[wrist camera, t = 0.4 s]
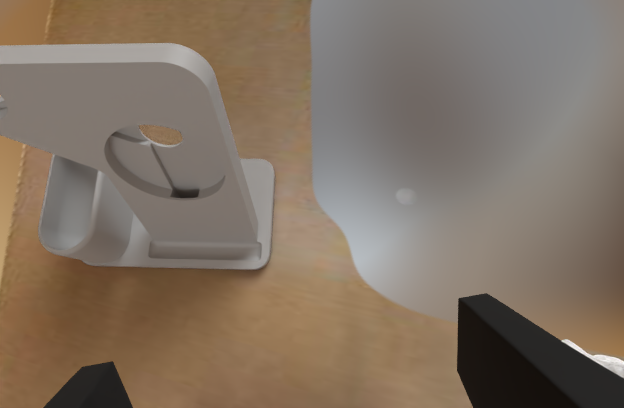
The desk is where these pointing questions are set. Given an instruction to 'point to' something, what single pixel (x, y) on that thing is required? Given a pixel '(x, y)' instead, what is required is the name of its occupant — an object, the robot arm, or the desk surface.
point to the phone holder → (136, 157)
